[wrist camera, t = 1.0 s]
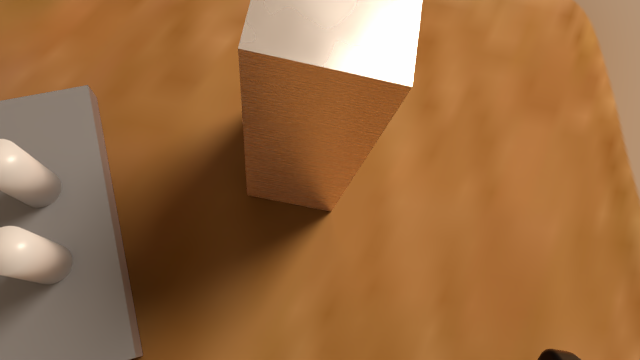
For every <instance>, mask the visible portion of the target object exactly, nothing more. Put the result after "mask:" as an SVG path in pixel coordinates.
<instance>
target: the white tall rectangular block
mask: <svg viewBox="0 0 640 360" xmlns="http://www.w3.org/2000/svg"><path fill="white" fill-rule="evenodd" d="M421 7H422V0H251V1H250V5H249V9H248V13H247V17H246V20H245V24H244V28H243V32H242V36H241V40H240V43H239V47H238V54H239V70H240V86H241V102H242V118H243V134H244V150H245V166H246V182H247V195H249V196H254V197H259V198H264V199H269V200H274V201H279V202H285V203H290V204H295V205H300V206H305V207H310V208H315V209H320V210H325V211H330V212H331V211H332V210H333V208H334V207H335V205H336V203H337V202H338V200H339V199H340V197H341V196H342V194H343V193H344V191H345V190H346V188H347V187H348V185H349V183H350V182H351V180H352V179H353V177H354V176H355V174H356V173H357V171H358V170H359V168H360V166H361V165H362V163H363V162H364V160H365V159H366V157H367V156H368V154H369V153H370V151H371V150H372V148H373V146H374V145H375V143H376V142H377V140H378V139H379V137H380V136H381V134H382V133H383V131H384V130H385V128H386V126H387V125H388V123H389V122H390V120H391V119H392V117H393V116H394V114H395V113H396V111H397V110H398V108H399V106H400V105H401V103H402V102H403V100H404V99H405V97H406V96H407V94H408V93H409V91H410V90H411V88H412V85H413V77H414V68H415V59H416V51H417V42H418V33H419V24H420V16H421Z"/></svg>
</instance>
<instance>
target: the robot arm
mask: <svg viewBox="0 0 640 360" xmlns="http://www.w3.org/2000/svg"><path fill="white" fill-rule="evenodd" d="M538 360H581V359H580V358H578V357H577V356H576V355H574V354H573V353H570V352H567V351H561V350H555V349H546V350H545V351H543V352H542V353H541V355H540V357H539V358H538Z"/></svg>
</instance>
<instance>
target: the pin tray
mask: <svg viewBox="0 0 640 360" xmlns="http://www.w3.org/2000/svg"><path fill="white" fill-rule="evenodd" d="M140 356H143V353H142V347H141V341H140V336H139V330H138V325H137V319H136V314H135V308H134V303H133V297H132V291H131V286H130V280H129V275H128V269H127V264H126V258H125V253H124V247H123V241H122V236H121V230H120V225H119V219H118V214H117V208H116V202H115V197H114V191H113V186H112V180H111V175H110V169H109V164H108V158H107V152H106V147H105V141H104V136H103V130H102V125H101V119H100V114H99V108H98V102H97V97H96V96H95V95H94V93H93V92H92V90H91V89H90V87H89V86H88V85H86V86H81V87H75V88H70V89H64V90H59V91H53V92H47V93H42V94H36V95H31V96H25V97H20V98H14V99H9V100H3V101H0V360H130V359H134V358H137V357H140Z"/></svg>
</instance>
